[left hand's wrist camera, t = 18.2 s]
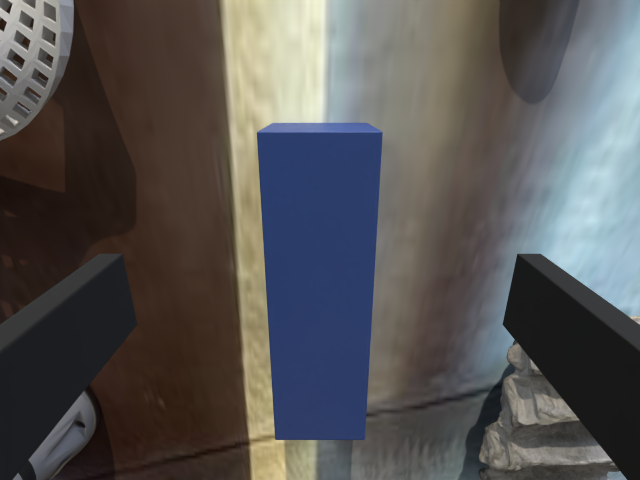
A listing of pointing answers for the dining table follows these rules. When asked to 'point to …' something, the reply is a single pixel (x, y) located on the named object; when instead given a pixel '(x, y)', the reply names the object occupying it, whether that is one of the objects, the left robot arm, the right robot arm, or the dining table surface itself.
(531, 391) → the decorative stone
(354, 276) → the box
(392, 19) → the dining table surface
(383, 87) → the dining table surface
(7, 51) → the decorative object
